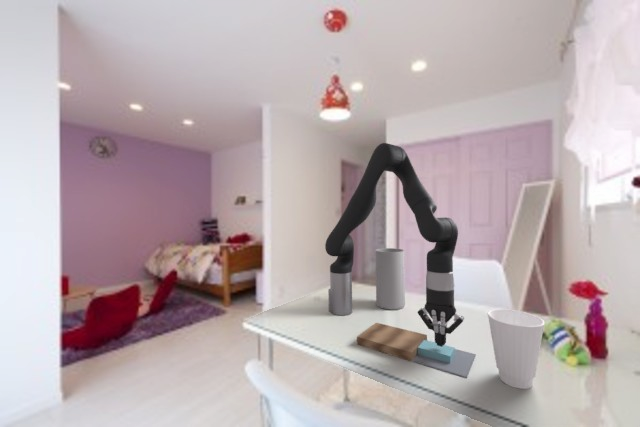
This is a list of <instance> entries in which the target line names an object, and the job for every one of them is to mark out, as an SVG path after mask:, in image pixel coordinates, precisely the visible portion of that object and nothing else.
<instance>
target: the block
mask: <svg viewBox="0 0 640 427" xmlns="http://www.w3.org/2000/svg"><path fill="white" fill-rule="evenodd" d="M423 340H427V341H428V335H427V334H424V333H421V332H416V331H412V330H408V329H404V328H400V327H397V326H391V325H388V324H383V323H379V322H374V324H372V325H370V326H369V327H368V328H367V329H365V330H364V331H362V332H361V333H360V334H359V335H357V336H356V345H358V346H361V347H365V348H368V349H371V350H374V351H378V352H381V353H383V354H388V355H389V356H390V355H391V356H393V357H397V358H400V359H403V360H407V361H410V362H413V361H412V360H413V359H414V358H415V356H416V355H417V354H418V346H419V345H420V344H421V343H422V342H423Z"/></svg>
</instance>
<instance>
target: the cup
mask: <svg viewBox="0 0 640 427" xmlns="http://www.w3.org/2000/svg"><path fill="white" fill-rule="evenodd" d="M487 317H488V323H489V328H490V329H489V330H490V335H491V340H492V346H493V353H494V360H495V363H496V368H497V369H498V376H499V379H500V380H501V381H502V382H503V383H504V384H506V385H508V386H510V387H513V388H516V389H520V390H521V389H523V390H528V389H531V388H532V387H533V383H534V378H535V377H536V373H537V368H538V367H537V366H538V362H539V356H540V349H541V344H542V341H543V340H542V339H543V338H542V337H543V335H544V334H543V333H544V329H545V328H544V327H545V326H546V325H545V324H546V322H545V320H544V319H542V318H541V317H539V316H537V315H534V314H532V313H529V312H525V311H522V310H516V309H515V310H514V309H509V308H507V309H506V308H497V309H496V308H495V309H491V310H489V311H488V312H487Z"/></svg>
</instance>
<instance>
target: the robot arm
mask: <svg viewBox="0 0 640 427" xmlns="http://www.w3.org/2000/svg"><path fill="white" fill-rule="evenodd" d="M370 156H371V157H370V158H369V161H368V163H367V166H366V168H365V171H364V173H363V176H362V178H361V179H360V181H359V184H358V185H357V187H356V189H355V191H354V193H353V194H352V196H351V198H350V199H349V201H348V203H347V206H346V207H345V209H344V211H343V213H342V214H341V217H340V218H339V220H338V222H337V223H336V224H335V226H334V227H333V229H332V230H331V232H329V235H328V236H327V239H326V241H325V244H324V245H325V252H326V253H327V255H329V256H330V257H337V258H336V260H335V261H334V262H332V263H331V264H330V266H329V279H330V280H329V282H330V283H329V284H330V288H328V312H330V313H331V314H332V315H336V316H348V315H350V314H352V313H353V280H352V279H353V275H352V274H353V273H352V272H353V270H352V269H353V265H354V258H355V257H354V254H355V244H354V239H353V238H352V235H350V234H351V233H352V232H353V231H354V230H355V229H357V228H358V227H359V226H360V225H361V224H363V223H364V222H365V221H366V220H367V219H368V218H369V216H370V214H371V213H372V212H373V211H372V210H373V209H374V207H375V206H376V204H377V186H378V183H379V180H380V178H381V177H382V174H383V173H384V172H391V173H393V174H394V175H395V176H396V177H397V178H398V179H399V180H400V182H401V185H402V194H403V198H404V200H405V203H407V206H408V207H409V209H410V210H411V211H412V213H413V215H414V218H415V221H416V225H417V227H418V228H417V229H418V232H419V233H420V235H421V237H422V238H423V239H424V240H425V241H427V242H429V243H435V244H434V248H433V249H431V250H429V251H428V252H427V253H426V274H425V298H426V299H425V304H424V307H421V308H420V309H419V310H418V311H417V314H418V316H419V317H420V319H421V320H422V322H423V323H424V325H426V327H427V329H429V330H430V331H433V332H434V342H435V343H437V346H441V347H443V345H446V343H447V334H448V335H451V334H452V333H453V332H454V331H455V330H456V329H458V327H459V326H460V325H461V324H462V323H463V322H464V321H465V317H464V316H463V315H460V314H459V313H458V312H457V308H456V306H455V278H454V272H453V271H454V268H453V267H454V266H453V264H454V260H453V258H454V253H455V252H456V251H455V250H456V246H457V243H458V242H457V241H458V237H459V228H458V226H457V223H456V221H455V220H453V219H452V218H450V217H436V216H435V213H436V211H437V209H438V206H437V203H436V202H435V201H434V199H433V197H432V196H431V194H430V193H429V192H428V190H427V189H426V188H425V186H424V185H423V183H422V182H421V179H419V178H420V177H418V174H417V173H416V170H415V167H414V166H413V165H412V162H411V159H410V158H409V156H408V153H407V152H406V150H405V149H404V148H403V147H401V146H398V145H395V144H392V143H388V142H383V143H380V144H379V145H377V146H376V147H375V149H374V150H373V153H371V155H370ZM453 317H454V318H453ZM452 318H453V321H454V322H453V323H451V325H450V326H449V327H448V323H449V322H450V320H451V319H452Z"/></svg>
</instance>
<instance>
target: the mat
mask: <svg viewBox="0 0 640 427" xmlns="http://www.w3.org/2000/svg"><path fill="white" fill-rule="evenodd" d="M476 356H477V354H476V353H472V352H469V351H465V350H460V349H457V348H455V356H454V357H453V359H452V361H451V363H447V362H444V361H440V360H437V359H433V358H430V357H426V356H423V355H419V354H417V355H416V356H415V358H414V359H413V360H412V361H411V362H412V363H416V364H419V365H422V366H427V367H430V368H433V369H434V370H435V369H436V370H440V371H441V372H442V371H443V372H446V373H449V374H452V375H455V376H458V377H462V378H465V379H468V376H469V373H470V371H471V368H472V365H473V363H474V361H475V358H476Z"/></svg>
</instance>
